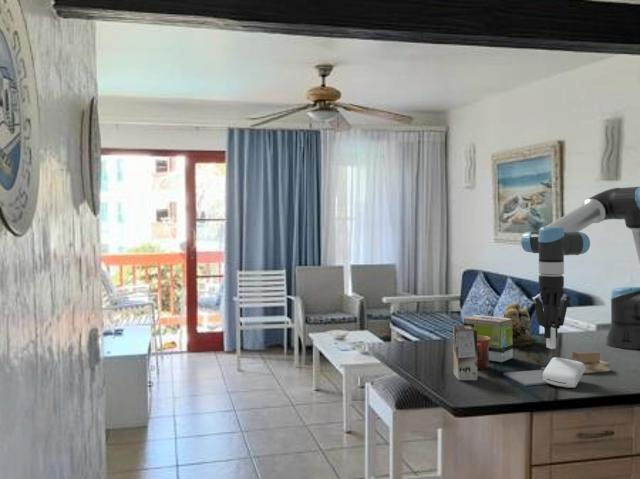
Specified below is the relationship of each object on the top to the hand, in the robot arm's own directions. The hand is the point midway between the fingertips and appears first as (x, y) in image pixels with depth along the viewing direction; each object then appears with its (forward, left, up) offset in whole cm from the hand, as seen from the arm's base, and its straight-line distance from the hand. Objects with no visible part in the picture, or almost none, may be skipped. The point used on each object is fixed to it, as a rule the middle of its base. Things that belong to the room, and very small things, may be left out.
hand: (550, 347), depth 186 cm
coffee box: (+26, -8, -10) cm, 29 cm away
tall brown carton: (-14, -4, -7) cm, 16 cm away
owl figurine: (-16, -45, -10) cm, 49 cm away
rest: (-17, -4, -10) cm, 20 cm away
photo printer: (-4, +3, -5) cm, 7 cm away
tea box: (+6, -29, -10) cm, 31 cm away
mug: (+17, -16, -10) cm, 25 cm away
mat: (+6, 0, -10) cm, 11 cm away
